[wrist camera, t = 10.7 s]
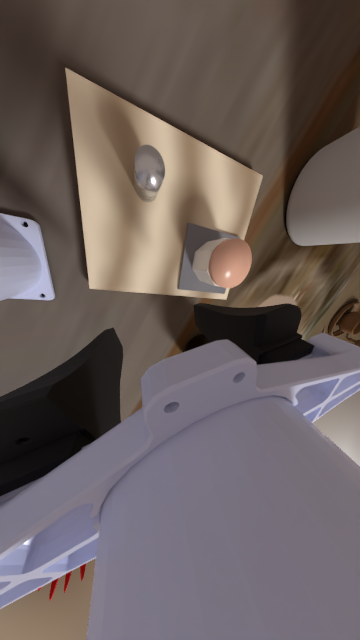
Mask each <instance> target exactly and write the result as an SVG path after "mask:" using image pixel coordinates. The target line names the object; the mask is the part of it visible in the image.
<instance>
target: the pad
mask: <svg viewBox="0 0 360 640" xmlns="http://www.w3.org/2000/svg"><path fill="white" fill-rule="evenodd" d="M223 238H231V239H234V238H239V239H240V237H236V236H233V235H229V234H226V233H223V232H219V231H216V230H213V229H209V228H206V227H202V226H199V225H196V224H192V223H187V230H186V237H185V243H184V250H183V257H182V264H181V271H180V278H179V285H178V289H180V290H190V291H200V292H210V293H221V294H225V291H226V288H223V287H219V286H214V285H211V284H208V283H205V282H202V281H200V280H199V279H198V277H197V276H196V274H195V272H194V271H193V269H192V266H193V261H194V255H195V251H197V250H198V249H199V248H200V247H201V246H203V245H204V244H205V243H206V242H208V241H213V240H218V239H223Z"/></svg>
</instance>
